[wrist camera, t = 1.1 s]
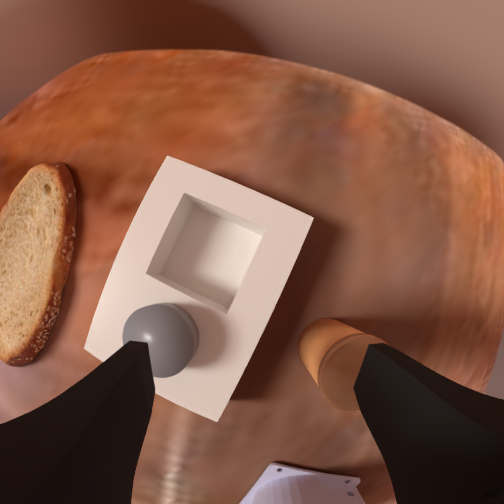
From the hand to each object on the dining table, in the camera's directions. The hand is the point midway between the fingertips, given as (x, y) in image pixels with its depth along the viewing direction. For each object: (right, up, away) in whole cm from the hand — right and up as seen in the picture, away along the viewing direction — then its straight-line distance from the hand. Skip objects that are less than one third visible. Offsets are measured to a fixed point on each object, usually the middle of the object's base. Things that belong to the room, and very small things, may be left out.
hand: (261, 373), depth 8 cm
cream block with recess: (-4, +1, +11) cm, 12 cm away
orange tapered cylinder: (+5, -3, +11) cm, 12 cm away
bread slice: (-23, +2, +11) cm, 25 cm away
